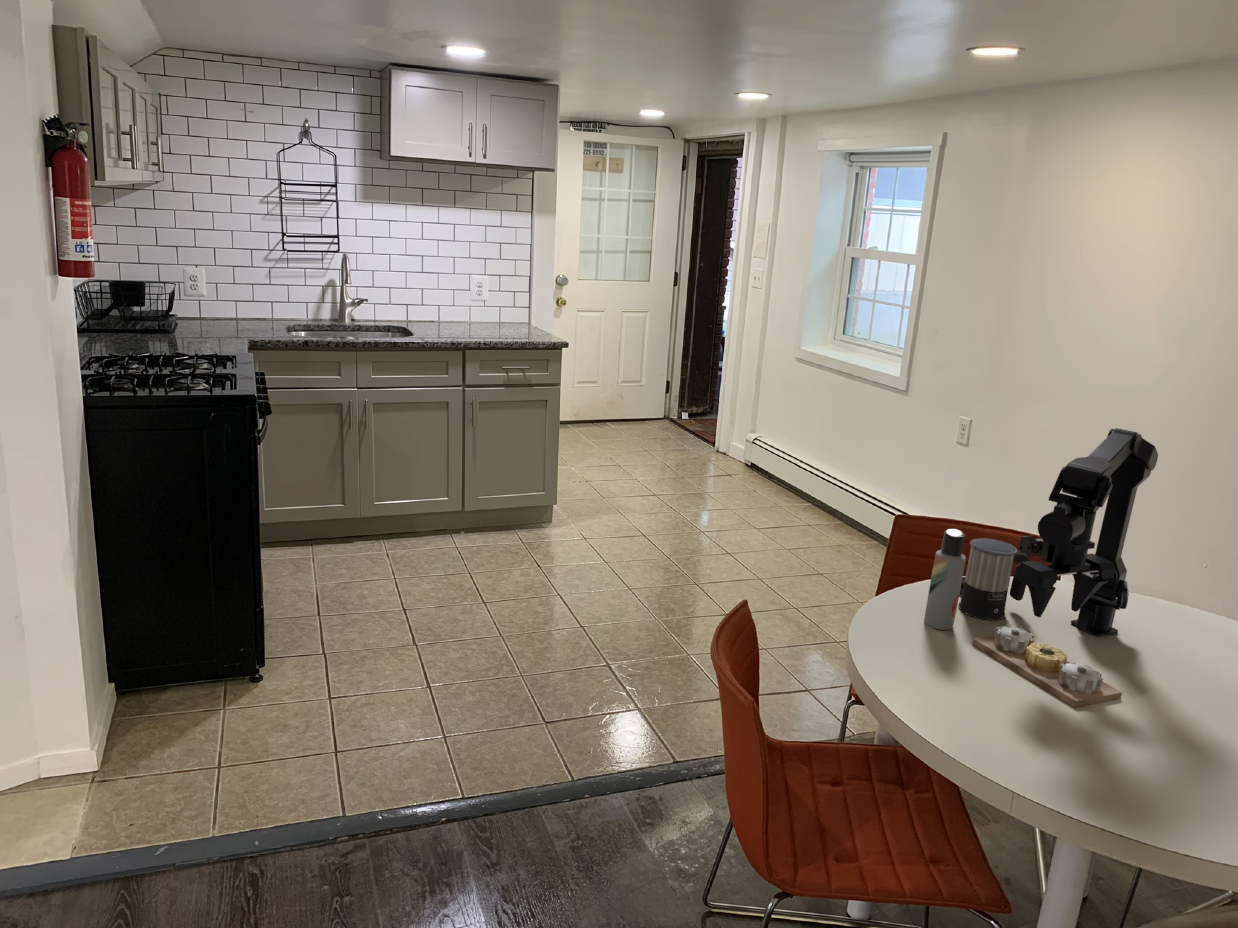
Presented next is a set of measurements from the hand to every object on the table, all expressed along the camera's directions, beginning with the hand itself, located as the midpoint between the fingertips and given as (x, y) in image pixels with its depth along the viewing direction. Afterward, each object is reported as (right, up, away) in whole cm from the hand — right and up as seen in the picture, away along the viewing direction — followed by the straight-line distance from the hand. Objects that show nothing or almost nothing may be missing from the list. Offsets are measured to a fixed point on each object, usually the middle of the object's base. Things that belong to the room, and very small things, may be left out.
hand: (1055, 613), depth 168 cm
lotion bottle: (-15, -5, +18) cm, 24 cm away
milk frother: (-3, -3, +30) cm, 30 cm away
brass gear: (-1, -9, +1) cm, 10 cm away
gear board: (-2, -11, +2) cm, 11 cm away
